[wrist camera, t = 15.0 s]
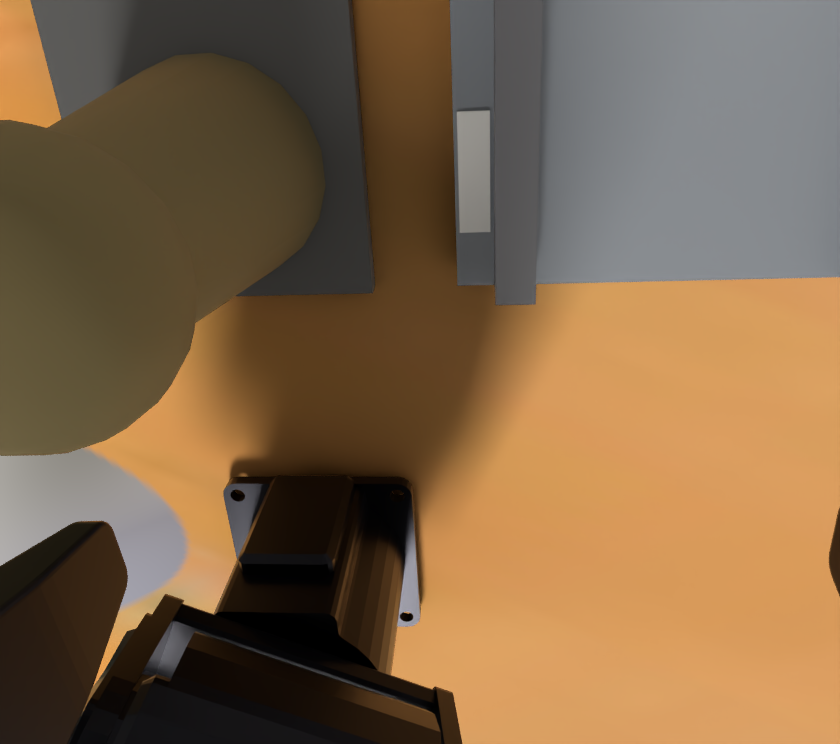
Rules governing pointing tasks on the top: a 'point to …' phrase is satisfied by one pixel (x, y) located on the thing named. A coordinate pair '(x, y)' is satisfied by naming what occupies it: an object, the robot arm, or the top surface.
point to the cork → (139, 238)
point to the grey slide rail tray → (644, 141)
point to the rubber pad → (269, 53)
